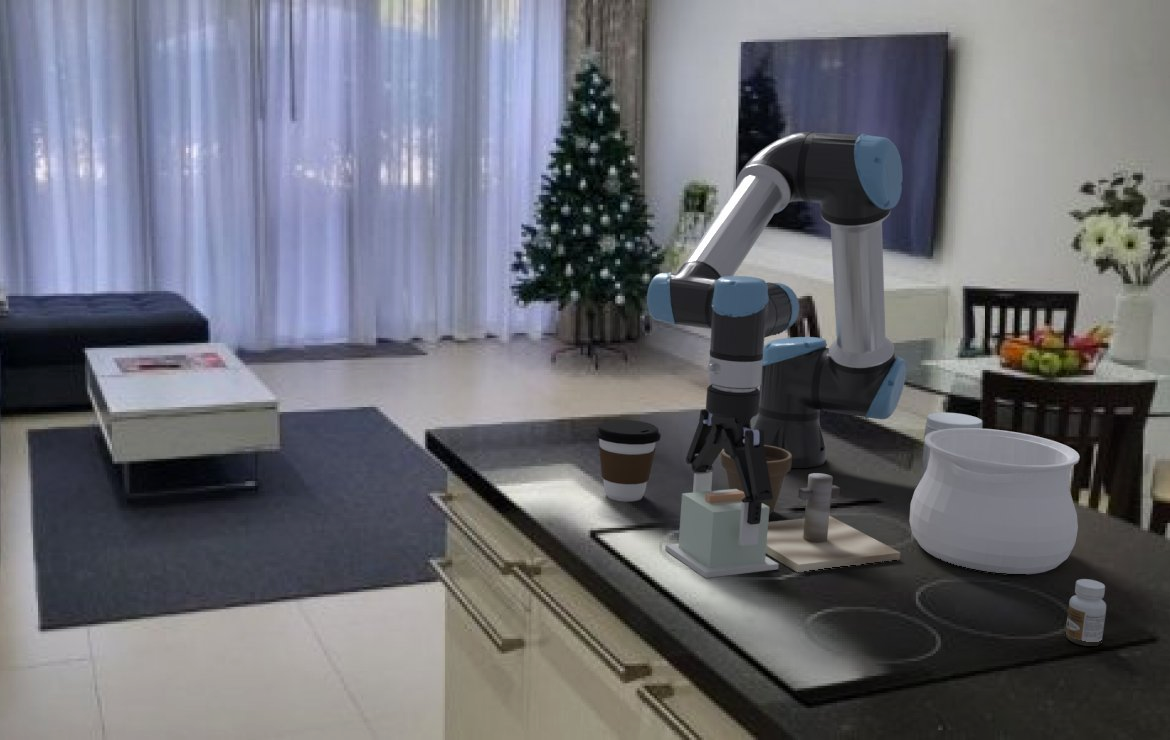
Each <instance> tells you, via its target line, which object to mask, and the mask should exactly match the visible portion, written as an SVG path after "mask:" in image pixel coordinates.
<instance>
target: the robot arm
mask: <svg viewBox="0 0 1170 740" xmlns="http://www.w3.org/2000/svg"><path fill="white" fill-rule="evenodd" d="M900 155H901V154H900V152H899V150H898V147H897V146H896V144H895V143H894V142H892V141H891V139H889V138H887V137H885V136H884V137H883V136H875V135H870V134H867V133H861V134H851V133H850V134H846V133H825V132H814V131H802V132H795V133H792V134H789V135H785V136H783V137H781V138H779V139H777V140H775V141H773V142H771V143H770V144H768V145H767V146H765V147H764V148H762V149H761V150H760V151H758V152H757V153H756V154H754V155H753V156H752V157H751V158H749V159H750V160H748V161H747V163H746V164H745V165H744V166H743V168H742V169H741V170H740V171H739V173H738V175H737V178H736V181H735V182H736V183H735V184H736V185H735V187H736V188H735V190H734V191H733V193H732V194H731V196H730V197H729V199H727V201H726V202H725V204H724V206H723V207H722V208H721V210H720V212H719V213H717V215H716V217H715V218H714V220H713V221H712V223H711V224H710V225H709V227H708V228H707V230H705V233H704V234H703V236H702V237H701V238H700V239H699V241H698V242H697V244H696V245H695V247H694V248H693V249H692V251H691V253H690V254H689V256H688V257H687V258H686V260H685V261H684V263H683V264H682V265H681V267H680V268H679V269H678V271H677V272H676V273H673V272H668V273H667V272H665V273H664V272H660V273H658V274H655V276H653V278H652V279H651V281H650V283H649V285H648V288H647V293H646V306H647V308H648V313H649V315H650V317H652V319H654V320H655V321H658V322H662V323H663V322H664V323H667V324H672V325H675V326H687V327H693V328H694V327H695V328H703V329H710V348H709V362H708V364H707V365H708V366H707V369H708V376H707V381H708V383H709V386H707V388H706V399H705V409H704V408H703V409H701V410H700V412H699V419H698V424H697V427H696V429H695V432H694V435H693V438H692V441H691V443H690V446H689V449H688V452H687V454H686V457H685V462H686V463H687V464H688V465H689V464H690V465H691V470H692V472H693V482H692V483H693V484H692V493H694V492H705V491H712V484H713V483H712V482H713V472H712V471H713V470H714V468H713V464H714V462H715V461H716V459H718V457H719V455H721V451H722V449H724V450H725V451H726V452H728V453H729V456H730V457H731V458H732V459H734V462H735V465H736V468H737V472H738V475H739V478H740V481H741V485H742V488H743V491H744V494H745V498H743V499H742V504H741V518H740V531H739V545H741V546H746V545H754V544H758V535H759V523H760V520H761V507H762V502H763V501H767V500H772V498H773V495H772V489H771V483H770V478H769V472H768V466H767V461H766V455H765V449H764V445H768V446H774V447H778V448H781V449H784V450H786V451H788V452H790V453H791V455H792V462H791V469H808V468H809V469H810V468H815V467H819V466H822V465H824V464H825V462H826V454H827V450H826V449H827V448H826V446H825V441H824V436H823V433H822V429H821V425H820V417H821V416H820V415H821V414H820V413H821V411H823V412H825V411H827V412H830V413H838V414H843V415H844V414H845V415H851V416H857V417H862V418H864V419H866V420H868V419H876V420H886V419H889V418H890V417H891V416H892V415H893V413H894V412H895V410H896V408H897V407H898V404H899V401H900V399H901V397H902V393H903V391H904V390H903V389H904V386H905V381H906V377H907V362H906V360H905V359H904V358H902V357H900V356H896V355H895V345H894V343H893V342H892V341H891V340H890V339H889V338H887V337H886V315H885V314H886V312H885V289H884V288H885V282H884V279H885V277H884V276H885V275H884V251H883V250H884V249H883V248H884V246H883V242H884V241H883V222H884V221H885V220H886V219H887V218H888V217H889V216H890V215H891V209H894V208H895V207H896V206H897V205H898V203H899V201H900V199H901V195H902V191H903V190H902V189H903V186H902V183H903V164H902V159H901V156H900ZM792 202H806V203H807V202H808V203H815V204H819V205H820V216H821V218H822V220H823V221H824V222H825V223H827V224H829V225H830V236H831V238H830V239H831V257H832V260H831V261H832V276H833V277H832V279H833V293H834V294H833V295H834V297H833V298H834V315H835V316H834V317H835V330H836V331H835V333H836V335H835V336H836V339H835V340H834V341H833V342H832V343H831V344H830V345H829V347H827V346H828V343H827V340H826V338H825V339H824V338H821V337H814V336H812V337H811V336H798V337H785V338H778V339H777V338H776V339H773V340H770V341H768V342H766V344H765V338H768V337H770V336H771V337H772V336H777V335H780V334H782V333H783V332H785V331H787V329H790V328H791V327H792V326H793V325H794V324H795V323H796V321H797V319H798V317H799V314H800V303H799V298H798V297H797V295H796V293H795V292H794V290H793V289H792V288H791V287H790V286H788V285H786V284H784V283H781V282H770V281H767V282H766V281H765V280H764V279H762V278H759V277H753V276H743V275H735V274H736V272H737V271H738V270H739V268H740V267H741V265H742V263H743V262H744V260H745V259H746V257H747V255H748V254H749V253H750V251H751V249H752V248H753V247H754V245H755V244H756V242H757V241H758V239H759V237H760V236H761V235H762V233H763V232H764V230H765V228H766V227H767V225H768V224H769V222H770V221H771V219H772V218H773V216H774V214H778V213H779V212H782V211H783V210H784V209H785V208H786V207H787V206H788V204H789V203H792ZM758 388H759V389H758ZM754 417H756V419H755V422H754V423H753V425H752V426H751V420H752V418H754ZM744 447H745V450H743V448H744ZM751 491H752V492H751Z"/></svg>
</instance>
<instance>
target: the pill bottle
mask: <svg viewBox="0 0 1170 740" xmlns="http://www.w3.org/2000/svg"><path fill="white" fill-rule="evenodd" d="M1074 589H1075V590H1074V593H1075V594H1074V595H1072V596H1071V597H1070V599H1069V601H1068V602H1069V604H1068V610H1067V618H1066V625H1065V632H1066V634H1067V635H1068V636H1070V637H1072V638H1074V639H1078V640H1082V641H1086V642H1099V641H1101V640H1102V641H1103V636H1104V635H1103V634H1104V628H1105V620H1106V612H1107V603H1106V602H1105V601H1104V600H1103V598H1104V596H1105V591H1106V586H1105V584H1104V583H1102V582H1100V581H1099V580H1098V581H1097V580H1095V579H1088V578H1081V579H1078V580H1076V581H1075V588H1074Z"/></svg>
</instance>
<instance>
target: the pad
mask: <svg viewBox="0 0 1170 740" xmlns="http://www.w3.org/2000/svg"><path fill="white" fill-rule="evenodd" d="M678 546H679V542H678V543H670V544H665V546H664V548H665V549H664V550H665V551H666V552H667V553H669V554H671V555H672V556H674V557H675V558H676V559H678V560H679V561H680V562H682V563H683V564H684V565H686V566H688V567H689V568H691V569H692V570H693V571H695V572H696V573H697V574H699V575H700V576H702V577H703V578H705V579H708V578H716V577H725V576H735V575H741V574H743V575H744V574H752V573H759V572H766V571H767V572H768V571H774V570H776V571H777V570H779V563H778V562H776V561H775V560H773V559H771V558H770V557H768V556H766V557H765V562H758V563H749V564H740V565H732V566H723V567H714V568H709V567H707V566H706V565H704V564H703V563H701V562H700V561H698V560H697V559H695V558H694V557H693V556H691V555H690V554H688V553H687V552H685V551H684V550H682V549H681V548H679V547H678Z"/></svg>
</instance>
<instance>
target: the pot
mask: <svg viewBox="0 0 1170 740" xmlns="http://www.w3.org/2000/svg"><path fill="white" fill-rule="evenodd" d="M925 444H926V445H927V446H928V447H930V457H929V462H928V467H927V470H926V472H925V474H924V475H923V477H922V479H921V478H920V480H921V481H919V483H918V484H917V487H915V489H914V492H913V495H912V499H911V501H910V509H909V525H910V529H911V533H912V536H913V538H914V539H915V540H916V541H917V543H918V544H919V546H920V547H921V548H922V549H923V550H924V551H925V552H927V553H928V554H929V555H931V556H933V557H934V558H936V559H939V560H940V559H941V561H943V562H945V563H947V562H948V563H947V564H950V563H951V565H953V564H954V566H956V565H957V567H959V566H962V567H961V568H963V567H966V568H965V569H967V568H971V569H976V570H982V571H987V572H986V573H988V572H996V573H1007V574H1026V575H1036V574H1041V573H1046V572H1049V571H1051V570H1053V569H1054V570H1055V569H1056V568H1057V567H1059V566H1060V565H1061V564H1062V563H1064V561H1066V560H1067V559H1068V558H1069V556H1070V555H1071V553H1072V551H1073V549H1074V547H1075V545H1076V543H1077V542H1076V541H1077V534H1078V531H1079V526H1078V525H1079V524H1078V523H1079V522H1078V514H1077V510H1076V507H1075V505H1074V500H1073V497H1072V493H1071V490H1070V484H1071V483H1070V482H1071V481H1070V479H1071V477H1070V476H1071V471H1072V470H1071V469H1072V467H1073V466H1074V465H1076V464H1078V463H1079V461H1080V458H1081V457H1080V454H1079V453H1078V451H1076V450H1075V449H1073V448H1072V447H1070V446H1068V445H1066V444H1063V443H1060V442H1058V441H1055V440H1052V439H1049V438H1044V437H1040V436H1038V435H1037V436H1036V435H1032V434H1027V433H1023V432H1015V431H1009V430H1002V429H1001V430H1000V429H992V428H982V429H980V428H951V429H942V430H937V431H933V432H930V433H928V434H927V435H926V436H925ZM971 569H970V570H971ZM976 570H975V571H976ZM1007 574H1006V575H1007Z"/></svg>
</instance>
